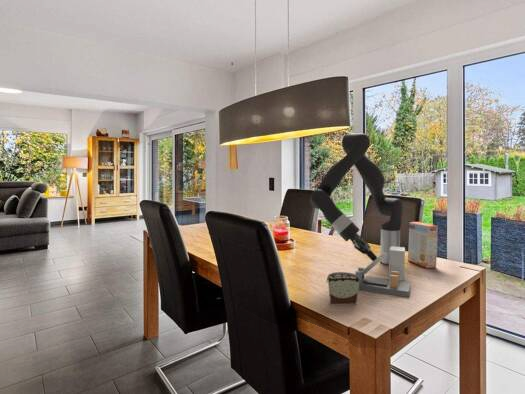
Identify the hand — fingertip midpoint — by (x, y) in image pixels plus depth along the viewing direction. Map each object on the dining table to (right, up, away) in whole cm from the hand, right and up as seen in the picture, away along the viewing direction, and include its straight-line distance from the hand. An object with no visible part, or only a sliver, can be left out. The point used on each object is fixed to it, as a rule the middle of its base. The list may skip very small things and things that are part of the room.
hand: (375, 259), depth 136 cm
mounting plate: (0, -11, +1) cm, 11 cm away
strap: (-5, -7, +3) cm, 9 cm away
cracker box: (+34, -9, +33) cm, 49 cm away
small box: (+14, -11, +13) cm, 22 cm away
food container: (-17, -13, -14) cm, 26 cm away
